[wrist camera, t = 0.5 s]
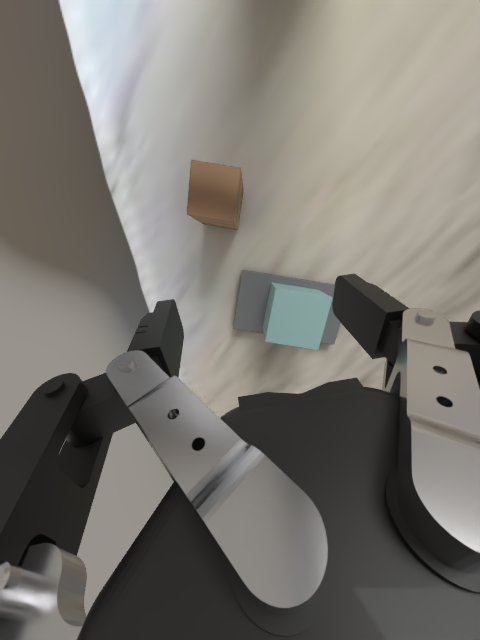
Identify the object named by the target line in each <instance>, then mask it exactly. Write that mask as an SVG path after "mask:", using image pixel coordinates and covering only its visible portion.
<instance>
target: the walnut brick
mask: <svg viewBox="0 0 480 640" xmlns="http://www.w3.org/2000/svg"><path fill="white" fill-rule="evenodd" d="M242 197H243V183H242V174H241V168H239V167H232V166H226V165H220V164H214V163H208V162H201V161H195V160H191V168H190V180H189V193H188V206H187V215H189V216H191V217H193V218H194V219H196V220H198V221H199V222H201V223H203V224H207V225H213V226H219V227H225V228H232V229H238V225H239V218H240V211H241V204H242Z"/></svg>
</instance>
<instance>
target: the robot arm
mask: <svg viewBox="0 0 480 640" xmlns="http://www.w3.org/2000/svg"><path fill="white" fill-rule="evenodd" d="M332 309H333V313H334V315H335V316H336V317H337V319H338V320H339V321H340V322H341V323H342V324H343V326H344V327H345V328H346V329H347V330H348V331H349V332H350V334H351V335H352V336H353V337H354V338H355V339H356V340H357V342H358V343H359V344H360V345H361V346H362V347H363V349H364V350H365V351H366V352H367V353H368V354H369V355H370V357H371V358H372V359H375V358H382V357H386V358H387V360H386V363H385V366H384V375H383V385H382V390H379V389H375V388H369V387H363V386H362V384H361V383H360V382H359V380H358V379H357V378H352V379H346V380H340V381H334V382H328V383H326V384H323V385H321V386H319V387H316V388H314V389H312V390H309V391H307V392H305V393H302V394H290V393H271V392H267V393H260V394H254V395H248V396H242V397H238V400H239V407H237V408H235V409H233V410H231V411H229V412H228V413H226V414H225V415H223V416H222V417H221V418H219V417H218V416H217V415H216V414H215V413H214V412H213V411H212V410H211V409H210V408H209V407H208V406H207V405H206V404H205V403H204V402H203V401H202V400H201V399H200V398H199V397H198V396H197V395H196V394H194V393H193V392H192V391H191V390H190V389H189V388H188V387H187V386H186V385H185V384H184V383H183V382H182V381H181V380H180V379H179V378H178V376H179V368H180V361H181V354H182V347H183V340H184V332H183V326H182V323H181V320H180V316H179V313H178V309H177V306H176V303H175V301H174V300H173V299H172V300H165V301H158V302H157V304H156V306H155V309H154V312H153V313H148V314H147V315H146V316H144V317H143V318H142V319H141V321H140V324H139V325H138V328H137V330H136V332H135V333H136V334H135V335H134V337H133V339H132V341H131V344H130V346H129V348H128V350H127V352H126V353H123V354H121V355H119V356H118V357H116V358H115V359H113V360H112V361H111V362H110V363H109V365H108V367H107V369H106V373H104V374H101V375H99V376H96V377H93V378H91V379H88V380H85V381H82V380H81V379H80V377H79V376H78V375H76V374H73V373H68V374H62V375H59V376H57V377H54V378H52V379H50V380H48V381H47V382H45V383H44V384H42V385H41V386H40V387H39V388H37V389H36V391H35V392H34V393H33V394H32V396H31V397H30V398H29V400H28V401H27V403H26V404H25V405H24V407H23V408H22V410H21V411H20V413H19V414H18V415H17V417H16V418H15V420H14V421H13V423H12V424H11V425H10V427H9V428H8V430H7V431H6V432H5V434H4V435H3V437H2V438H1V439H0V640H480V311H476V312H474V313H473V314H472V316H471V317H470V319H469V321H468V322H449V320H448V319H447V318H446V317H445V316H443V315H442V314H440V313H438V312H435V311H432V310H428V309H422V308H411V309H409V308H408V307H406V306H405V305H403V304H402V303H401V302H399V301H398V300H396V299H395V298H393V297H392V296H391V297H390V295H389V294H388V293H386V292H384V291H383V290H382V289H380V288H379V287H377V286H376V285H373V284H370V283H368V282H366V281H364V280H363V279H362V278H360V277H359V276H357V275H356V274H349V275H342V276H338V277H337V279H336V282H335V289H334V295H333V302H332ZM133 423H136V424H137V425H138V427H139V428H140V430H141V431H142V433H143V434H144V436H145V438H146V439H147V441H148V442H149V444H150V445H151V447H152V448H153V450H154V452H155V453H156V455H157V456H158V458H159V459H160V461H161V462H162V464H163V466H164V467H165V469H166V471H167V472H168V474H169V475H170V477H171V478H172V480H173V482H174V483H173V484H172V486H171V487H170V489H169V490H168V492H167V493H166V495H165V496H164V498H163V499H162V501H161V502H160V504H159V505H158V507H157V508H156V510H155V511H154V513H153V514H152V516H151V517H150V518H149V520H148V521H147V523H146V525H145V526H144V528H143V529H142V530H141V532H140V533H139V535H138V536H137V538H136V539H135V541H134V542H133V544H132V545H131V547H130V548H129V550H128V551H127V553H126V554H125V556H124V557H123V559H122V560H121V562H120V563H119V565H118V566H117V568H116V569H115V571H114V572H113V574H112V575H111V577H110V578H109V580H108V581H107V583H106V584H105V586H104V587H103V589H102V590H101V592H100V593H99V595H98V597H97V598H96V600H95V602H94V603H93V605H92V607H91V609H90V611H89V613H88V615H87V617H86V614H85V609H84V593H85V587H86V579H87V573H86V567H85V564H84V562H83V561H82V560H81V559H80V558H79V557H77V553H78V549H79V546H80V543H81V540H82V536H83V533H84V529H85V526H86V523H87V519H88V516H89V512H90V509H91V506H92V502H93V499H94V495H95V492H96V488H97V485H98V482H99V479H100V475H101V472H102V468H103V465H104V461H105V458H106V454H107V451H108V448H109V444H110V441H111V438H112V434H113V433H114V432H116V431H118V430H120V429H122V428H125V427H127V426H129V425H131V424H133ZM65 439H66V441H65ZM64 441H65V443H64ZM63 443H64V445H63ZM62 445H63V447H62ZM61 447H62V449H61ZM60 450H61V451H60ZM59 452H60V454H59ZM58 455H59V456H58Z"/></svg>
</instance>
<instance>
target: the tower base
mask: <svg viewBox="0 0 480 640" xmlns="http://www.w3.org/2000/svg"><path fill="white" fill-rule="evenodd" d="M334 289H335V285H334V284H328V283H321V282H315V281H309V280H302V279H296V278H290V277H284V276H277V275H271V274H265V273H259V272H252V271H246V270H242V274H241V281H240V287H239V294H238V300H237V307H236V313H235V320H234V326H233V329H239V330H245V331H252V332H258V333H264V337H265V342H271V343H277V344H283V345H290V346H296V347H302V348H309V349H315V350H318V349H319V346H320V342H321V343H327V344H334V343H335V340H336V336H337V333H338V330H339V326H340V323H341V322H340V321H339V320H338V319H337V317H336V316H335V315H334V313H333V309H332V302H333V295H334Z"/></svg>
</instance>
